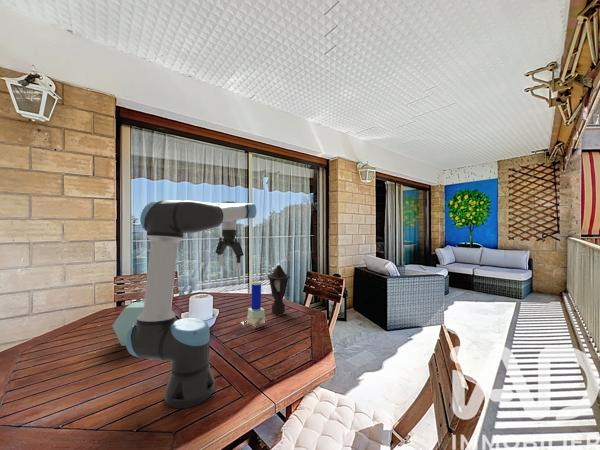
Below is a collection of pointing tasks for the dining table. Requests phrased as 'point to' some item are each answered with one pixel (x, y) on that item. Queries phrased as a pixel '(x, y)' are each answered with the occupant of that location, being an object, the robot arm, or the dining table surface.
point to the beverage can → (256, 295)
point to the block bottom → (255, 321)
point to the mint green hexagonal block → (127, 320)
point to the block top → (256, 313)
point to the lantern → (278, 289)
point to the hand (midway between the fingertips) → (228, 267)
